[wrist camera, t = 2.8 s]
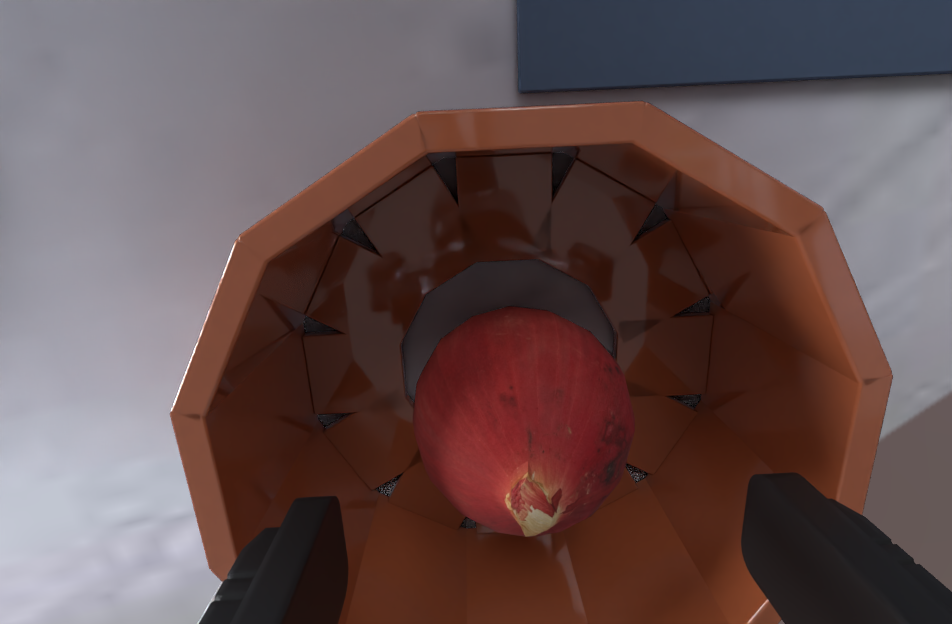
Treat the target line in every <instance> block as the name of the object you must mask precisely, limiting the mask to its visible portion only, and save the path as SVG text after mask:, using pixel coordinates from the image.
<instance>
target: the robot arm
mask: <svg viewBox="0 0 952 624" xmlns="http://www.w3.org/2000/svg"><path fill="white" fill-rule="evenodd" d="M741 550H742V555H743V558H744V562H745V564H746V567H747V569H748V571H749V573H750V575H751V576H752V578H753V579H754V581H755V582H756V584H757V585H758V586H759V588H760V589H761V591H762V592H763V593H764V595H765V596H766V598H767V599H768V601H769V602H770V603H771V605H772V606H773V608H774V609H775V610H776V612H777V613H778V615H779V616H780V617H781V619H782V620H783V622H784V623H785V624H952V592H951V591H950V590H949V589H948V588H946V587H945V586H944V585H943V584H942V583H941V582H940V581H938V580H937V579H936V578H935V577H934V576H933V575H931V574H930V573H929V572H928V571H927V570H926V569H925V568H923V567H922V566H921V565H920V564H915V563H914V559H913V558H912V557H911V556H909V555H908V554H907V553H906V552H905V551H904V550H903V549H901V548H900V547H899V546H898V545H897V544H892V542H891V539H890V538H889V537H888V536H886V535H885V534H884V533H883V532H882V531H881V530H880V529H878V528H877V527H876V526H875V525H874V524H873V523H871V522H870V521H869V520H868V519H867V518H866V517H864V516H863V515H861V514H859V513H857V512H855V511H854V510H852V509H850V508H848V507H846V506H845V505H843V504H841V503H839V502H837V501H836V500H834V499H832V498H831V499H827V498H826V497H825V496H824V495H823V494H822V493H821V492H820V491H818V490H817V489H816V488H815V487H814V486H813V485H812V484H811V483H810V482H809V481H807V480H806V479H805V478H804V477H803V476H802V475H800V474H798V473H795V472H790V473H772V474H755V475H753V476H752V477H751V478H750V480H749V483H748V489H747V497H746V504H745V512H744V519H743V527H742V535H741ZM347 585H348V556H347V549H346V542H345V536H344V529H343V522H342V515H341V508H340V503H339V499H338V497H337V496H320V497H301V498H296V499H295V500H294V501H293V503H292V505H291V506H290V508H289V510H288V512H287V514H286V516H285V518H284V520H283V522H282V524H281V526H280V527H271V528H265V529H264V530H263V531H261V532H260V533H259V534H258V535H257V536H256V537H255V538H254V539H253V540H252V541H251V542H249V543H248V544H247V545H246V546H245V547H244V548H243V549H242V550H241V552H240V554H239V555H238V557H237V559H236V560H235V562H234V564H233V566H232V567H231V569H230V571H229V572H228V574H227V579H225V580H224V581H223V583H222V584H221V586H220V588H219V590H218V591H217V593H216V595H215V600H214V602H211V603H210V605H209V607H208V608H207V610H206V612H205V614H204V615H203V617H202V619H201V620H200V622H199V624H338V622H339V618H340V615H341V611H342V608H343V604H344V600H345V597H346V592H347Z"/></svg>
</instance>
